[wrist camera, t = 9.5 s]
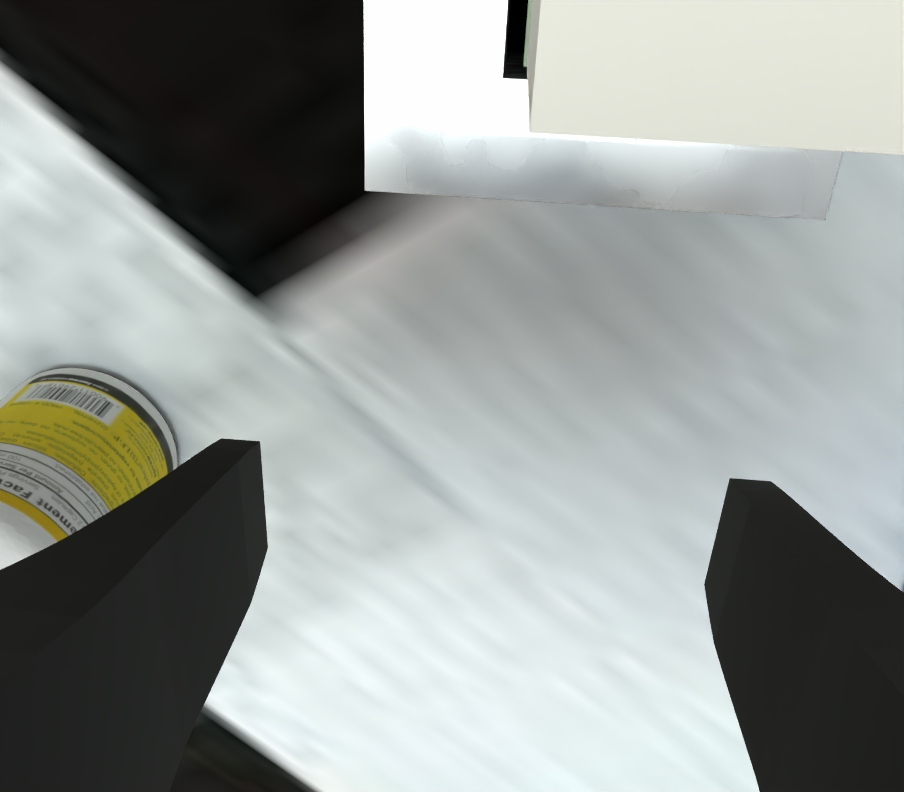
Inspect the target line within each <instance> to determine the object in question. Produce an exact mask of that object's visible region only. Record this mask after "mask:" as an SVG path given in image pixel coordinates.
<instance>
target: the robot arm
mask: <svg viewBox="0 0 904 792" xmlns="http://www.w3.org/2000/svg"><path fill="white" fill-rule="evenodd" d="M267 548H268V544H267V531H266V517H265V504H264V490H263V477H262V463H261V450H260V442H259V441H246V440H234V439H220V440H218V441H217V442H215V443H213V444H212V445H210V446H208V447H207V448H205V449H204V450H202V451H201V452H199V453H198V454H196V455H195V456H193V457H192V458H190V459H189V460H188V461H186V462H185V463H183V464H182V465H180V466H179V467H177V468H176V469H174V470H173V471H171V472H170V473H169V474H167V475H166V476H164V477H163V478H161V479H160V480H158V481H157V482H155V483H154V484H152V485H151V486H149V487H148V488H146V489H145V490H143V491H142V492H140V493H139V494H137V495H136V496H134V497H133V498H131V499H129V500H128V501H126V502H125V503H123V504H121V505H120V506H118V507H116V508H115V509H113V510H111V511H110V512H108V513H106V514H105V515H103V516H101V517H100V518H98V519H96V520H95V521H93V522H91V523H90V524H88V525H86V526H85V527H83V528H81V529H80V530H78V531H76V532H75V533H73V534H71V535H69V536H67V537H65V538H64V539H62V540H60V541H58V542H56V543H54V544H52V545H50V546H49V547H47V548H45V549H43V550H41V551H39V552H37V553H34V554H32V555H30V556H28V557H26V558H24V559H22V560H20V561H18V562H16V563H14V564H12V565H10V566H7V567H5V568H3V569H1V570H0V792H169V791H170V788H171V786H172V783H173V780H174V777H175V774H176V771H177V768H178V765H179V762H180V759H181V757H182V754H183V751H184V749H185V746H186V744H187V741H188V739H189V737H190V734H191V732H192V729H193V727H194V724H195V722H196V720H197V718H198V716H199V714H200V712H201V709H202V707H203V705H204V703H205V701H206V699H207V697H208V694H209V692H210V690H211V688H212V686H213V684H214V682H215V680H216V677H217V675H218V673H219V671H220V669H221V667H222V665H223V662H224V660H225V658H226V656H227V654H228V652H229V650H230V648H231V645H232V643H233V641H234V639H235V637H236V635H237V632H238V630H239V628H240V626H241V624H242V621H243V619H244V617H245V615H246V613H247V610H248V608H249V606H250V604H251V601H252V598H253V595H254V592H255V588H256V585H257V582H258V579H259V576H260V572H261V569H262V566H263V562H264V559H265V555H266V552H267ZM704 585H705V591H706V598H707V605H708V611H709V618H710V623H711V629H712V634H713V640H714V645H715V648H716V651H717V655H718V658H719V661H720V665H721V668H722V671H723V674H724V678H725V681H726V684H727V687H728V691H729V694H730V697H731V700H732V703H733V706H734V710H735V713H736V716H737V719H738V722H739V725H740V728H741V732H742V735H743V738H744V741H745V744H746V747H747V751H748V754H749V757H750V760H751V763H752V766H753V769H754V773H755V776H756V779H757V783H758V787H759V791H760V792H904V593H903V592H902V591H901V590H899V589H898V588H897V587H895V586H894V585H893V584H891V583H890V582H889V581H888V580H886V579H885V578H884V577H883V576H881V575H880V574H879V573H878V572H877V571H875V570H874V569H873V568H872V567H870V566H869V565H868V564H867V563H866V562H864V561H863V560H862V559H861V558H860V557H858V556H857V555H856V554H855V553H854V552H852V551H851V550H850V549H849V548H848V547H847V546H845V545H844V544H843V543H842V542H841V541H840V540H839V539H837V538H836V537H835V536H834V535H833V534H832V533H830V532H829V531H828V530H827V529H826V528H825V527H824V526H823V525H821V524H820V523H819V522H818V521H817V520H816V519H815V518H813V517H812V516H811V515H810V514H809V513H808V512H807V511H806V510H804V509H803V508H802V507H801V506H800V505H799V504H798V503H796V502H795V501H794V500H793V499H792V498H791V497H790V496H788V495H787V494H786V493H785V492H784V491H782V490H781V489H780V488H779V487H777V486H776V485H775V484H774V483H772V482H771V481H758V480H745V479H732V478H730V480H729V484H728V488H727V492H726V496H725V501H724V505H723V509H722V513H721V517H720V521H719V526H718V530H717V534H716V538H715V542H714V546H713V551H712V555H711V559H710V563H709V567H708V571H707V576H706V580H705V584H704Z"/></svg>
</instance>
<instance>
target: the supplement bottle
mask: <svg viewBox="0 0 904 792" xmlns="http://www.w3.org/2000/svg"><path fill="white" fill-rule="evenodd" d="M176 468H177V452H176V447H175V443H174V440H173V437H172V434H171V432H170V429H169V427H168V426H167V424H166V422H165V420H164V419H163V417H162V416H161V414H160V413H159V412H158V410H157V409H156V408H155V407H154V406H153V405H152V404H151V403H150V402H149V401H148V400H147V399H146V398H145V397H144V396H143V395H142V394H141V393H139V392H138V391H137V390H135V389H134V388H133V387H131V386H129V385H128V384H126V383H124V382H123V381H121V380H119V379H116V378H114V377H112V376H110V375H107V374H104V373H101V372H97V371H93V370H88V369H82V368H61V369H54V370H50V371H46V372H42V373H40V374H37V375H35V376H33V377H31V378H29V379H27V380H26V381H24V382H23V383H21V384H20V385H19V386H18V387H16V388H15V389H14V390H13V391H11V392H10V393H9V394H8V395H7V396H5V397H4V398H3V399H2V400H1V401H0V570H1V569H3V568H5V567H7V566H10V565H12V564H14V563H16V562H18V561H20V560H22V559H24V558H26V557H28V556H30V555H32V554H34V553H37V552H39V551H41V550H43V549H45V548H47V547H49V546H50V545H52V544H54V543H56V542H58V541H60V540H62V539H64V538H65V537H67V536H69V535H71V534H73V533H75V532H76V531H78V530H80V529H81V528H83V527H85V526H86V525H88V524H90V523H91V522H93V521H95V520H96V519H98V518H100V517H101V516H103V515H105V514H106V513H108V512H110V511H111V510H113V509H115V508H116V507H118V506H120V505H121V504H123V503H125V502H126V501H128V500H129V499H131V498H133V497H134V496H136V495H137V494H139V493H140V492H142V491H143V490H145V489H146V488H148V487H149V486H151V485H152V484H154V483H155V482H157V481H158V480H160V479H161V478H163V477H164V476H166V475H167V474H169V473H170V472H171V471H173V470H174V469H176Z"/></svg>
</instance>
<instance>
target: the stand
mask: <svg viewBox="0 0 904 792" xmlns="http://www.w3.org/2000/svg"><path fill="white" fill-rule="evenodd" d="M510 4H511V0H364V115H365V191H378V192H394V193H409V194H425V195H441V196H456V197H472V198H488V199H504V200H519V201H535V202H551V203H567V204H582V205H598V206H614V207H629V208H645V209H661V210H677V211H692V212H708V213H724V214H740V215H755V216H771V217H787V218H802V219H818V220H826V216H827V212H828V208H829V204H830V200H831V196H832V193H833V189H834V185H835V181H836V177H837V173H838V169H839V166H840V162H841V158H842V154H843V151H832V150H816V149H799V148H782V147H765V146H749V145H732V144H715V143H698V142H682V141H665V140H648V139H632V138H615V137H598V136H581V135H565V134H548V133H531V132H530V127H529V103H528V78H527V67H525V66H524V53H514V52H507V47H508V32H509V18H510Z"/></svg>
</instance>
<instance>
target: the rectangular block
mask: <svg viewBox="0 0 904 792" xmlns="http://www.w3.org/2000/svg"><path fill="white" fill-rule="evenodd" d="M524 66H525V67H527V78H528V103H529V127H530V132H531V133H548V134H565V135H581V136H598V137H615V138H632V139H648V140H665V141H682V142H698V143H715V144H732V145H749V146H765V147H782V148H799V149H816V150H832V151H849V152H866V153H883V154H899V155H904V0H528V11H527V24H526V37H525V49H524Z"/></svg>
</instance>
